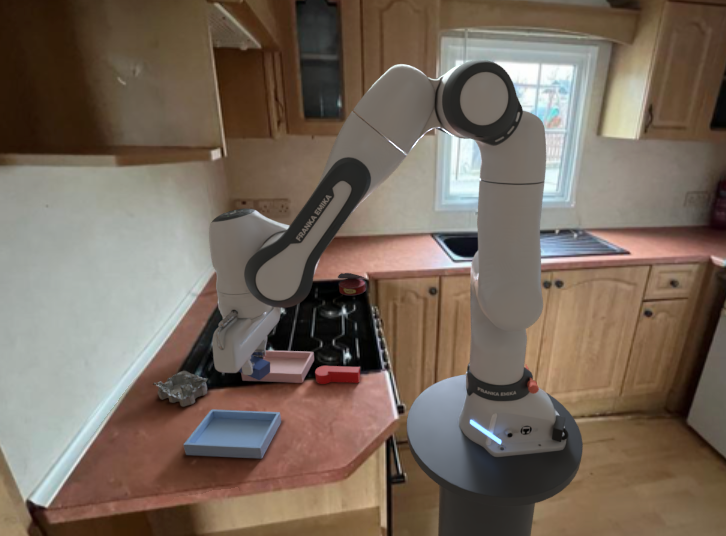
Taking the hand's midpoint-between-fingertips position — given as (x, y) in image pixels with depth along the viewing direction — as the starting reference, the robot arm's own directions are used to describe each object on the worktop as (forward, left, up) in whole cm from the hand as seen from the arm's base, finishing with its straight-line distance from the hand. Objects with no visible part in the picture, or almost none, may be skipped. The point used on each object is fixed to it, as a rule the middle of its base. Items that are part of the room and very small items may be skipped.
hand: (255, 365), depth 79 cm
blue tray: (+6, +1, -17) cm, 18 cm away
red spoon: (-10, -20, -17) cm, 28 cm away
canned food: (-2, -76, -17) cm, 78 cm away
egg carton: (+25, -12, -17) cm, 32 cm away
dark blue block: (+3, 0, 0) cm, 4 cm away
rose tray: (+6, -23, -17) cm, 29 cm away
